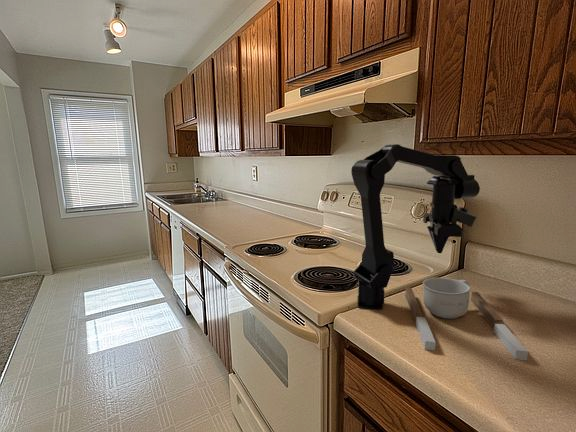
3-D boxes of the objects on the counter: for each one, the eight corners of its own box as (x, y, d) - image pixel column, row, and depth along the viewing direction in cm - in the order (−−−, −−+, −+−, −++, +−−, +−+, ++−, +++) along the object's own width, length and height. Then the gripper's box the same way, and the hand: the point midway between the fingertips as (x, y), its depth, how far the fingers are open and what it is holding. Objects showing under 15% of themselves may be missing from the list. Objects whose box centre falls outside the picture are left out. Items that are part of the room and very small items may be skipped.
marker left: (424, 349, 65) (425, 341, 64) (415, 324, 74) (416, 316, 74) (434, 350, 64) (435, 342, 64) (424, 325, 74) (425, 317, 74)
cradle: (414, 322, 75) (415, 312, 75) (405, 295, 90) (405, 287, 89) (501, 329, 71) (502, 320, 71) (476, 300, 86) (477, 292, 85)
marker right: (515, 359, 61) (516, 350, 61) (493, 331, 71) (494, 323, 70) (526, 360, 61) (528, 351, 60) (503, 332, 70) (504, 324, 70)
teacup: (441, 327, 73) (444, 295, 72) (412, 306, 83) (414, 278, 82) (487, 317, 77) (491, 288, 75) (454, 298, 87) (456, 272, 85)
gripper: (488, 205, 77) (481, 265, 80) (462, 196, 94) (458, 244, 97) (440, 205, 79) (435, 262, 82) (424, 195, 97) (421, 243, 100)
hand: (438, 252), depth 90 cm, fingers closed
